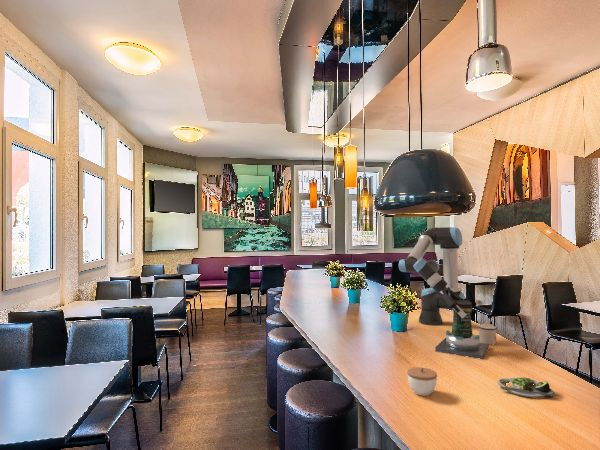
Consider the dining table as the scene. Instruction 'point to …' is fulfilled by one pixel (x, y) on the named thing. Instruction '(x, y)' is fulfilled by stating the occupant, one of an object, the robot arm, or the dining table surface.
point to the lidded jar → (422, 380)
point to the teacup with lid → (487, 333)
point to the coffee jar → (462, 319)
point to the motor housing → (462, 346)
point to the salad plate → (527, 387)
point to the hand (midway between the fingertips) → (467, 314)
